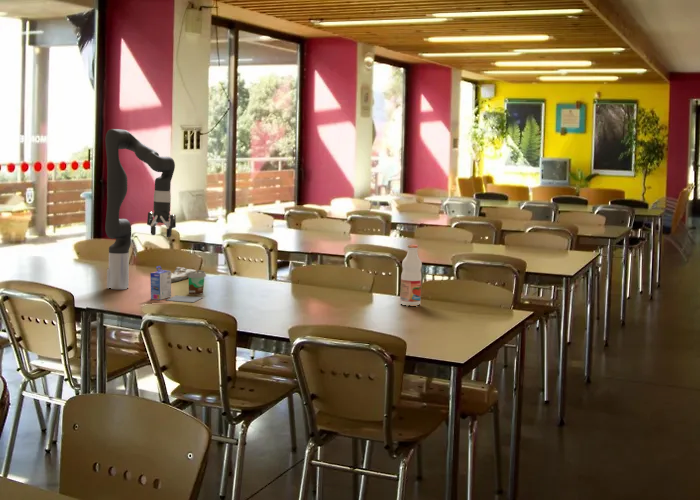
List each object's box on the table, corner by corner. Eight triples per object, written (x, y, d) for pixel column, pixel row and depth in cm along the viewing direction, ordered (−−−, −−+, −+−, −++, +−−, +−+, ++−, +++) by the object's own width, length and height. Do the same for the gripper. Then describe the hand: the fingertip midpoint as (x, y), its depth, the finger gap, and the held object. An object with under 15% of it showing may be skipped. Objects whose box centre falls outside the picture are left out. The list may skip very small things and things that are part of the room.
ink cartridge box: (161, 295, 416) (161, 264, 414) (171, 297, 414) (172, 265, 412) (149, 299, 406) (150, 267, 405) (160, 300, 404) (160, 268, 403)
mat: (165, 300, 404) (165, 300, 404) (176, 296, 417) (176, 295, 417) (193, 302, 402) (193, 301, 402) (203, 297, 414) (203, 297, 414)
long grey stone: (153, 285, 453) (171, 288, 450) (154, 275, 452) (172, 277, 449) (183, 272, 486) (200, 275, 484) (184, 263, 485) (201, 265, 483)
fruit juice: (402, 302, 423) (405, 243, 420) (422, 304, 420) (425, 244, 417) (397, 305, 414) (400, 245, 411) (417, 307, 411) (420, 246, 408)
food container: (200, 295, 421) (200, 274, 420) (187, 294, 422) (188, 273, 421) (209, 291, 433) (209, 270, 432) (197, 290, 434) (197, 269, 433)
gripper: (144, 199, 409) (143, 235, 411) (169, 202, 403) (168, 238, 405) (154, 198, 416) (153, 233, 418) (179, 201, 410) (178, 237, 412)
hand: (161, 236), depth 412 cm, fingers open, 8 cm apart
